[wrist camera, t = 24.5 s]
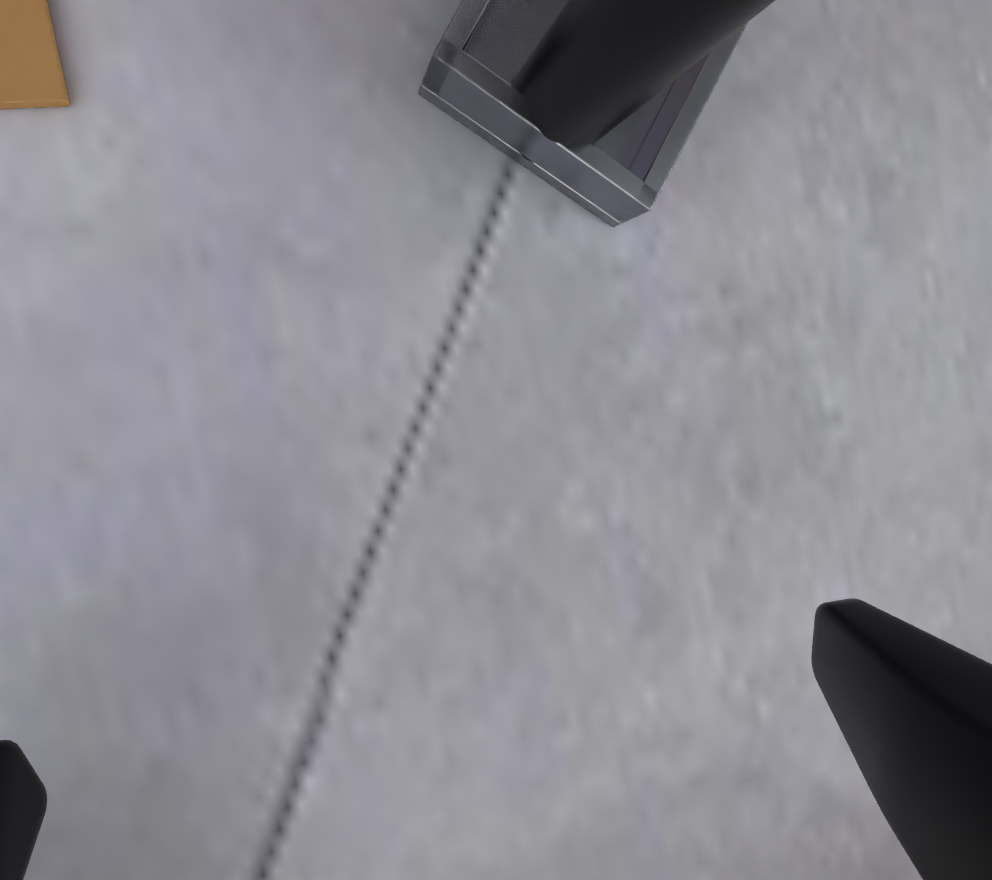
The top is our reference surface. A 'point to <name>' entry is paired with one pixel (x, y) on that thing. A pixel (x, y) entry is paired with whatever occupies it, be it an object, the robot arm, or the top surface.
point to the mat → (29, 57)
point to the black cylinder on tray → (587, 87)
